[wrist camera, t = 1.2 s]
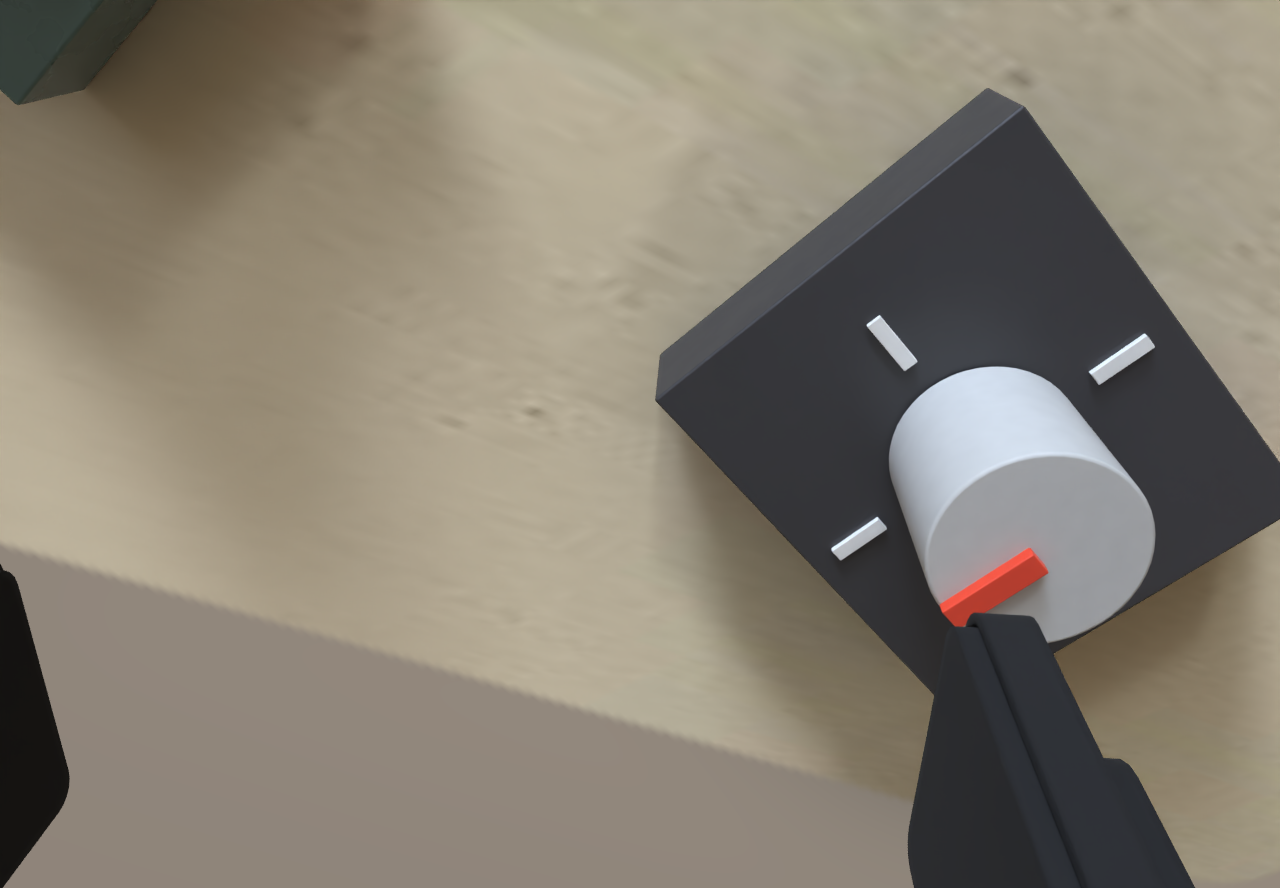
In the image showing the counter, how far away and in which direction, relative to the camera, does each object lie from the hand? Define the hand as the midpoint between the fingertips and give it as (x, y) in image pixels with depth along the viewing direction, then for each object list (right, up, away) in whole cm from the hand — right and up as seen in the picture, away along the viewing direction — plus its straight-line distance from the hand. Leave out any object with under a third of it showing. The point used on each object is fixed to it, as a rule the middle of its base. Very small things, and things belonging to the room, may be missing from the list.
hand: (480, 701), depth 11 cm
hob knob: (+10, +2, +14) cm, 17 cm away
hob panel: (+10, +4, +17) cm, 20 cm away
